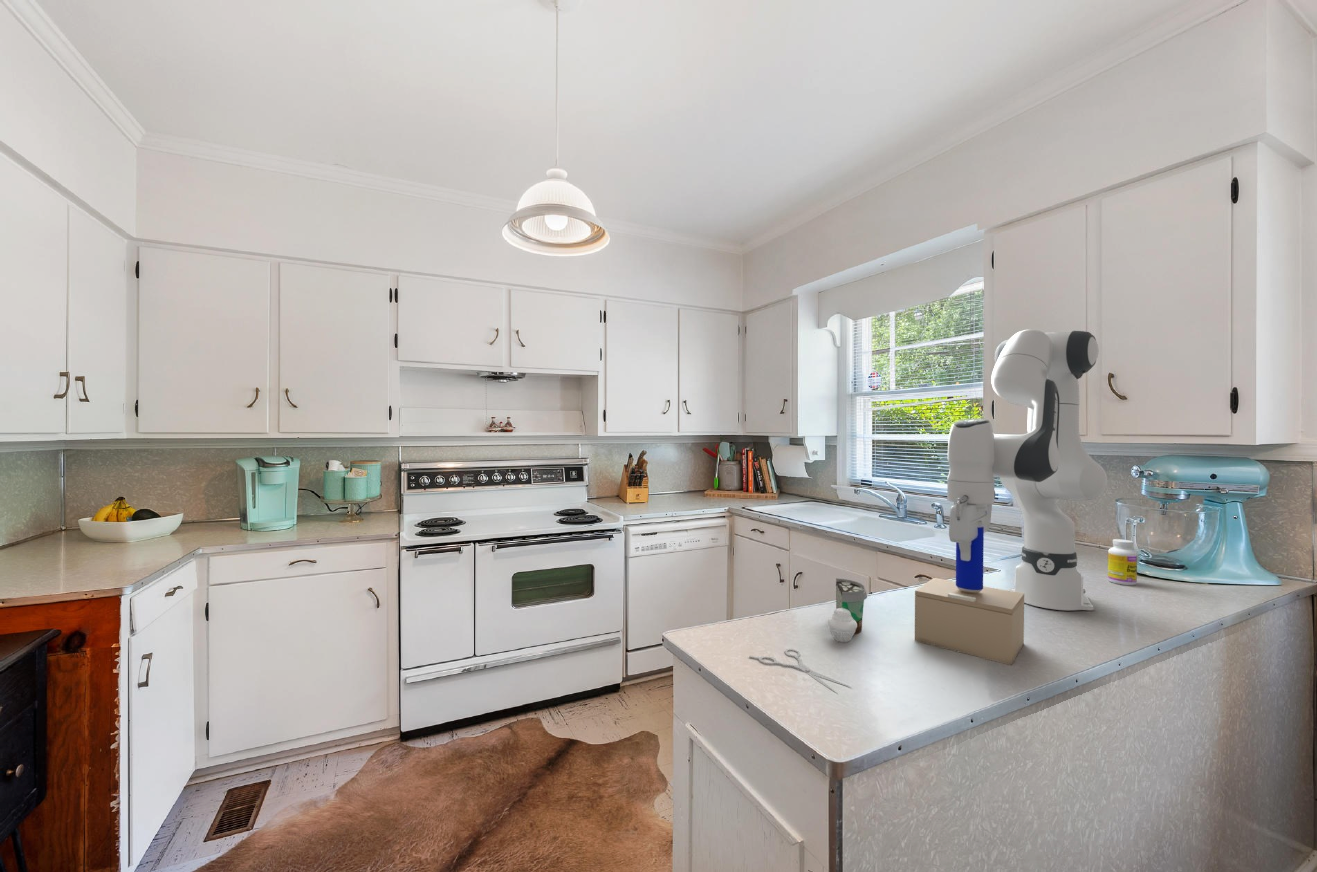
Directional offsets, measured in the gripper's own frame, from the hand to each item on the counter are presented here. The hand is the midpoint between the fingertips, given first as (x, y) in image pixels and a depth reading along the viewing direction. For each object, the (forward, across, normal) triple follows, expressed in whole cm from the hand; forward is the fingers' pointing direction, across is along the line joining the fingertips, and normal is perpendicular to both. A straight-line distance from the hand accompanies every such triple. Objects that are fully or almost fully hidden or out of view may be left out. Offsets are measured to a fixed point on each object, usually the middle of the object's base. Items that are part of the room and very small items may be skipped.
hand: (969, 557), depth 117 cm
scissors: (+19, -37, +20) cm, 46 cm away
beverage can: (+7, 0, 0) cm, 7 cm away
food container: (+19, -9, +22) cm, 30 cm away
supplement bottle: (+19, +83, -23) cm, 88 cm away
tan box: (+18, 0, 0) cm, 19 cm away
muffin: (+19, -17, +21) cm, 33 cm away
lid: (+9, 0, 0) cm, 9 cm away
